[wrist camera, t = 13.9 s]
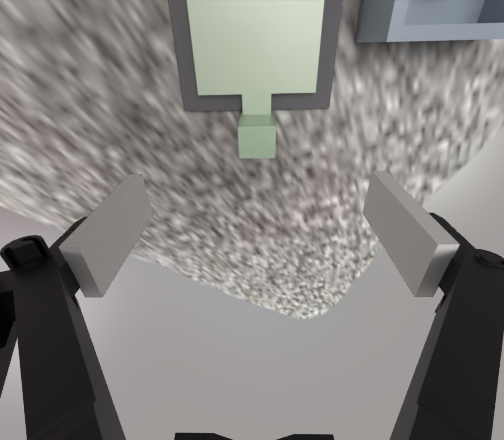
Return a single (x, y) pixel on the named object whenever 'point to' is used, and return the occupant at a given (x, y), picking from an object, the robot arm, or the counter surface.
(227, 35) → the lid
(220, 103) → the mat
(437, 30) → the tub
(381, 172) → the robot arm
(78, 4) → the counter surface
